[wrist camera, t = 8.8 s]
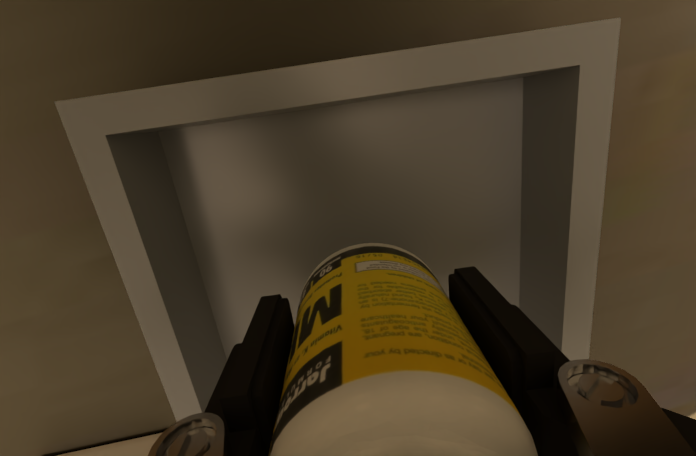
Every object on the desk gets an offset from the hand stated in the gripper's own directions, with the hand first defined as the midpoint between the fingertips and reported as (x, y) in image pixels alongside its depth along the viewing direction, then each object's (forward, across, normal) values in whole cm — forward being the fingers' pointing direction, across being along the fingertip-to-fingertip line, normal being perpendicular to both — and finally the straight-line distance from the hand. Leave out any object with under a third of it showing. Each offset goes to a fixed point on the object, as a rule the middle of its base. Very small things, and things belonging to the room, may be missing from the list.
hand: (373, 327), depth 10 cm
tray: (+5, 0, 0) cm, 5 cm away
